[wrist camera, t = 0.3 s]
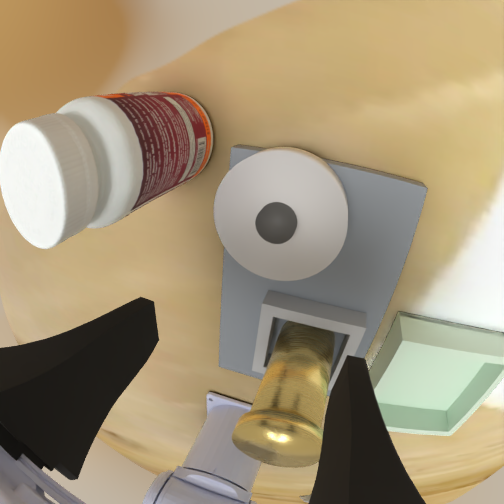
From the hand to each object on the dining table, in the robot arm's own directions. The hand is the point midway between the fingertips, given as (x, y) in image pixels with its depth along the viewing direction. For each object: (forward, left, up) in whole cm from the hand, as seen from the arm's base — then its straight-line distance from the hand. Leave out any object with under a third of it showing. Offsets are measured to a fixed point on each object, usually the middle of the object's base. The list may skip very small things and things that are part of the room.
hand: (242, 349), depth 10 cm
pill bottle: (+5, +9, -10) cm, 14 cm away
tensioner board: (-4, -1, -10) cm, 11 cm away
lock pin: (-7, -2, -9) cm, 11 cm away
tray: (-9, -13, -10) cm, 19 cm away
